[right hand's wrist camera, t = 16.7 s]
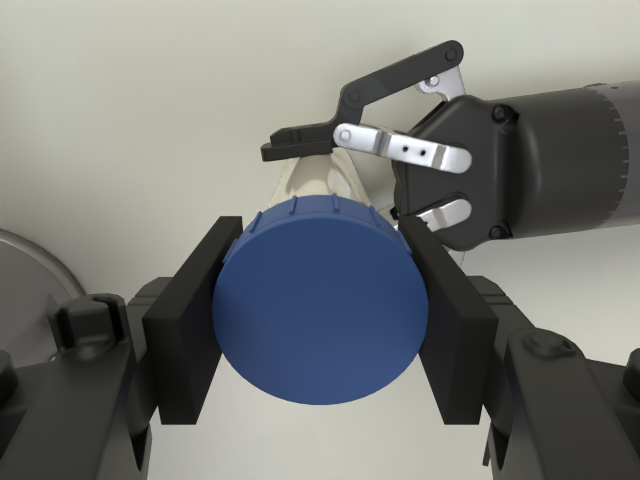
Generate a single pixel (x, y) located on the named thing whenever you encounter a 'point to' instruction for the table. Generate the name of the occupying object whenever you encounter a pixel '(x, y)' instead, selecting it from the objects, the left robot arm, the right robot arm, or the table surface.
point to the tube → (321, 178)
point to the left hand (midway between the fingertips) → (273, 200)
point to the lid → (320, 301)
